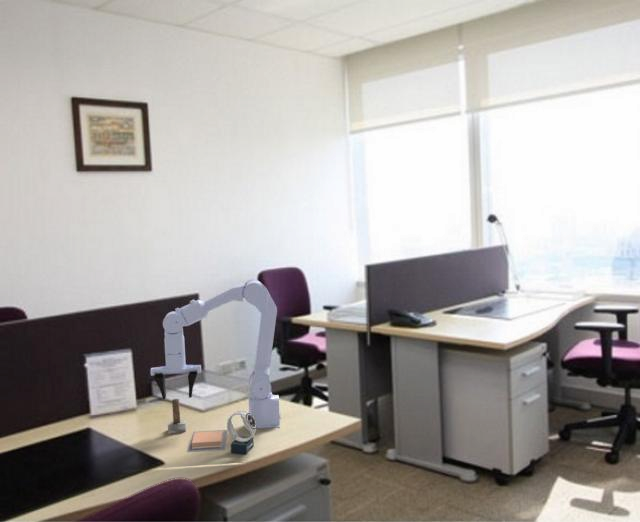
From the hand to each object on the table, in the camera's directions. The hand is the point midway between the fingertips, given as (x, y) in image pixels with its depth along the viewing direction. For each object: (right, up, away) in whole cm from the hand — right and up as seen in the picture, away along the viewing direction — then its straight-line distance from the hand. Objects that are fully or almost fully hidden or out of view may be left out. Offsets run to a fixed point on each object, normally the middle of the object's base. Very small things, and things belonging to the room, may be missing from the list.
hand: (177, 397), depth 182 cm
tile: (+10, -9, -6) cm, 15 cm away
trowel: (0, -10, 0) cm, 10 cm away
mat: (+11, -11, -8) cm, 17 cm away
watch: (+22, -11, -16) cm, 29 cm away
